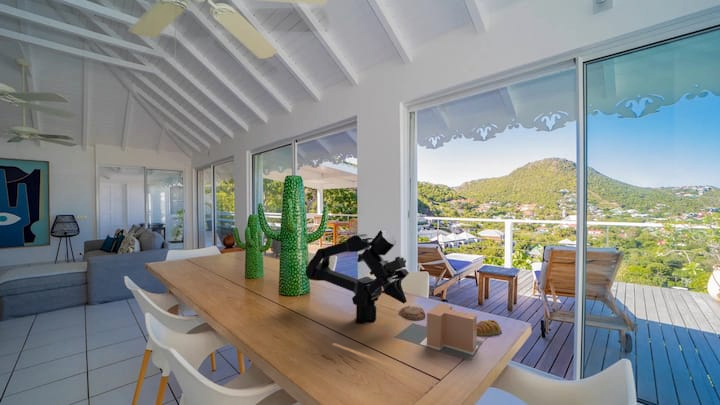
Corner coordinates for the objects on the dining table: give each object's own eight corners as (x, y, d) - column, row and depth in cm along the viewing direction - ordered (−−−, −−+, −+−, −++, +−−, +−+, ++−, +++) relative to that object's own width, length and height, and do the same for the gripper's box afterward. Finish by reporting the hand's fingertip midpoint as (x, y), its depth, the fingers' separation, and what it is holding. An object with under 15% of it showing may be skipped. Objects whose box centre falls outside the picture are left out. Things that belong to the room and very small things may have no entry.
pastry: (482, 341, 88) (482, 328, 88) (465, 332, 94) (465, 320, 94) (503, 335, 92) (503, 323, 92) (486, 327, 98) (486, 316, 98)
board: (394, 338, 88) (394, 336, 88) (412, 324, 98) (412, 323, 98) (471, 363, 75) (471, 360, 75) (482, 343, 85) (483, 341, 85)
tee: (426, 344, 83) (427, 312, 84) (439, 332, 92) (439, 303, 92) (469, 357, 76) (470, 323, 77) (479, 343, 85) (479, 312, 85)
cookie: (408, 324, 99) (408, 315, 99) (394, 313, 109) (394, 305, 109) (433, 320, 103) (433, 312, 103) (416, 310, 113) (416, 302, 113)
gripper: (375, 252, 89) (408, 294, 82) (403, 245, 104) (433, 281, 97) (355, 274, 93) (384, 316, 87) (384, 265, 108) (411, 300, 102)
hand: (405, 302), depth 93 cm, fingers closed
